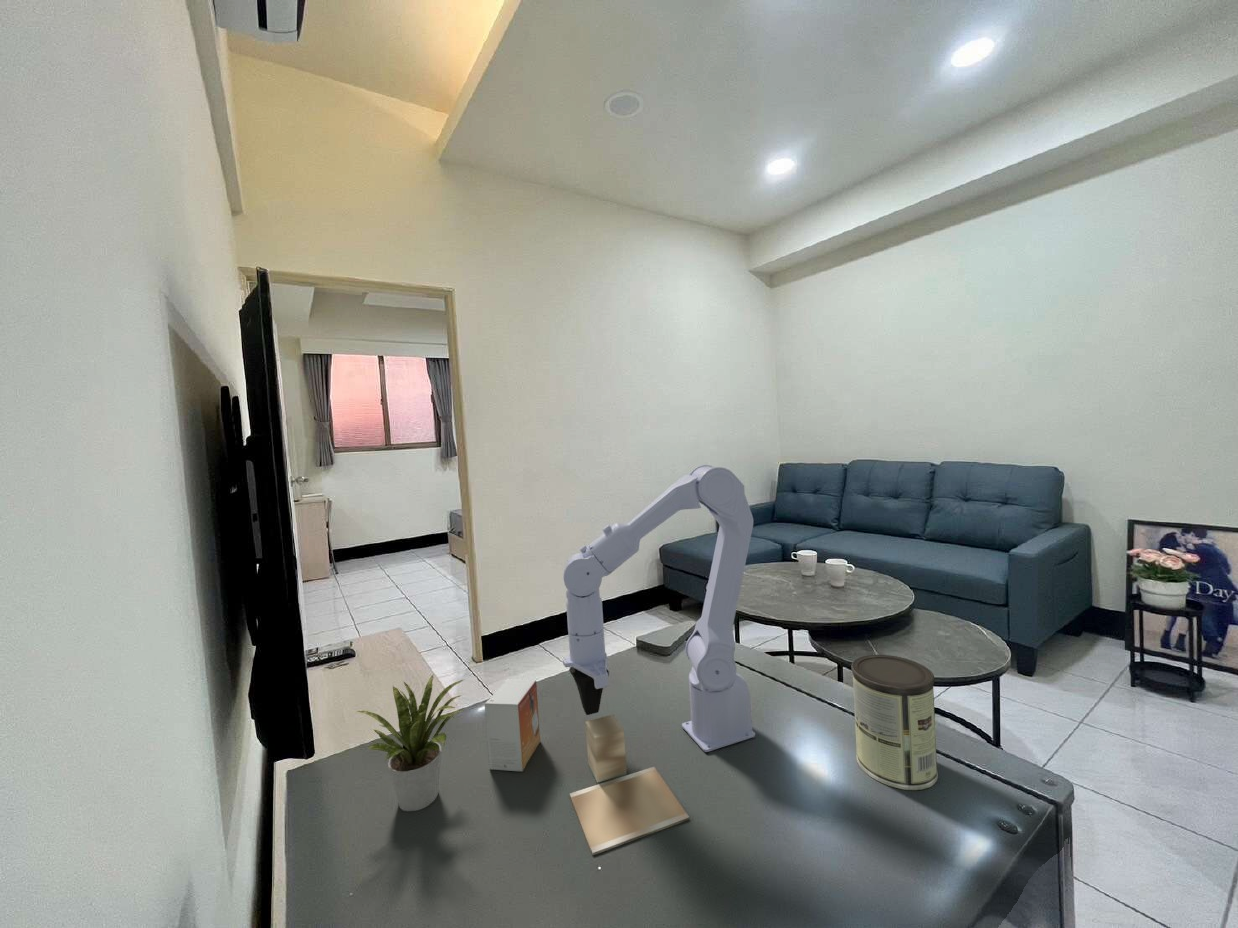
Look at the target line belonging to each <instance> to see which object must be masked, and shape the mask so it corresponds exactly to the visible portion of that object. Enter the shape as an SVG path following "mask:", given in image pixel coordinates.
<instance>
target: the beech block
mask: <svg viewBox="0 0 1238 928" xmlns="http://www.w3.org/2000/svg"><path fill="white" fill-rule="evenodd" d="M585 733H586V734H585V735H586V748H587V750H586V751H587V761H588V764H587V765H588V768H589V771H590V773H591V775H592V777H593V778H594V781H595V783H596V785H598V784H601V783H604V782H607V781H610V780H614V779H617V778H620V777H623V776H626V775H628V774H627V757H626V743H625V742H626V741H625V730H624V728H623V726H622V724H621V723H620V722H619V720H618V718H617V717H616V716H615V714H609V715H606V716H602V717H598V718H594V719H591V720H588V721H585Z"/></svg>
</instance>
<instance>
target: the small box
mask: <svg viewBox="0 0 1238 928" xmlns="http://www.w3.org/2000/svg"><path fill="white" fill-rule="evenodd" d="M537 687H538V686H537V680H535V679H517V678H516V679H515V678H513V679H512V678H507V679H505V680H504V681H503V682H502V684H501V685H500V686H499V687H498V689H496V691H495V692H494V693H493V694H492V695H491V696H490V697H489V699H487V701H485V702H484V713H485V717H484V718H485V727H486V740H487V755H488V767H489V770H495V771H509V772H511V771H512V772H523V771H524V769H525V768H526V766H527V764H528V763H529V761H530V759H531V758H532V756H533V754H534V752H535V751H536V749H537V747H538V746H539V744H540V743H541V734H540V733H541V731H540V718H539V705H538V704H539V703H538V702H539V699H538V688H537Z"/></svg>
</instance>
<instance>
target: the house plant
mask: <svg viewBox="0 0 1238 928" xmlns="http://www.w3.org/2000/svg"><path fill="white" fill-rule="evenodd" d="M433 680H434V674H432V675H431V676H430V677H429V679H428V681H427V682H426V685H425V688H424V692H423V696H422V698H421V702H420V705H418V704H417V699H416V696H415V692H414V691H413V690H412V688H411V687H410V685H409V684H407V683H406V682H405V681H403V683H404V687H405V689H406V691H407V693H408V696H409V697H407V696H406V694H405V693H404V692H403V691H402V690H400V689H398V688H397V687H395V686H394V685H392V693H393V700H394V703H395V707H396V713H397V718H398V728H399V732H398V731H397V730H396V729H395V727H394V726H393V725H392V724H391V723H390V722H389V721H388V720H387V719H385V718H384V717H382V716H381V715H379V714H377V713H375V712H371V711H368V710H367V711H366V710H356V712H357V713H361V714H365V715H367V716H370V717H372V718H374V719H375V721H377V722H379V726H380V727H382V728H386V729H387V730H388V731H389V733H390V734H392V735H393V736H394V738H396V740H398V741H399V742H400V744H399V743H398V742H397V741H395V740H394V739H393V738H392V737H390V736H388V735H387V734H385V733H384V732H382V731H380V730H377V729H373V730H374V732H375V733H376V734H377V735H378V736H379V738H380V739H381V741H383V742H378V743H374V744H372V745H370V746H368V748H366V750H368V749H369V750H374V751H380V752H386V753H387V754H386V758H385V760H384V762H387V760H388V763H387V766H388V769H389V770H388V771H389V773H390V777H391V781H392V785H393V788H394V791H395V796H396V799H397V802H398V805H399V808H400V810H402V811H404V812H414V811H420V810H422V809H425V808H427V807H428V806H429V805H431V804H433V802H434V801H435V800H436V799H437V797H438V794H439V786H440V785H439V783H440V771H441V760H442V750H443V749H442V746H441V744H442V745H443V746H445V742H446V739H447V734H446V733H443V732H442V733H441V731H442V729H443V727H445V725H446V724H447V723H448V721H449V720H450V719H451V718H454V719H455V717H454V715H455V714H457V713H458V712H459V713H460V712H461V711H462V710H463V708H461V709H458V710H455V711H453V712H451V713H450V714H442V713H443V712H444V710H445V709H455V708H456V707H455V706H452V705H449V704H451V703H452V701H454V700H456V699H458V698H460V697H461V696H462V695H456V696H454V697H452V698H450V699H449V700H447V701H446V702H445V703H444V704H443V705H442V706H440V707H439V708H438V709H437V710H436V708H437V707H438V705H439V704H440V702H441V700H442V699H443V698H444V697H445V696H446V695H447V694H448V693H449V691H450V690H451V689H452V688H453V687H454V686H456V685H457V684H460V683H462V682H463V681H465V680H466V678H465V679H461V680H458V681H455V682H453V683H451V684H449V685H448V686H447V687H446V688H444V689H443V690H442V691H441V692H440V693H439V695H437V697H436V698H435V700H434V701H433V704H432V706H431V708H430V710H429V712H428V708H429V704H430V699H431V696H432V691H433V686H434V685H433ZM435 710H436V711H435ZM427 712H428V715H427ZM437 712H438V714H437V715H436V713H437ZM435 715H436V717H435V719H434V720H433V718H434V716H435ZM432 720H433V721H432ZM441 721H442V722H441ZM440 722H441V723H440ZM439 723H440V725H439V727H438V728H437V730H436V732H435V733H434V735H433V736H432V738H431V740H429V739H430V736H431V735H432V733H433V730H434V728H436V726H437V725H438V724H439ZM440 743H441V744H440ZM401 744H402V745H401Z"/></svg>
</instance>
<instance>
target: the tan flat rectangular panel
mask: <svg viewBox="0 0 1238 928" xmlns="http://www.w3.org/2000/svg"><path fill="white" fill-rule="evenodd" d="M569 799H570V801H571V803H572V806H573V809H574V811H575V813H576V815H577V818H578V822H579V823H580V824H579V825H580V826H581V829H582V831H583V835H584V836H585V839H586V841H587V845H588V847H589V850H590V852H591V855H592V856H595V855H599V854H601V853H603V852H605V851H609V850H611V849H615V848H616V847H621V846H622V844H623V845H625V844H628V843H630V842H633V841H635V840H638V839H641V838H644V837H647V836H650V835H652V834H655V833H657V832H660V831H663V830H665V829H668V828H671V827H674V826H676V825H679V824H681V823H684V822H687V821H689V820H690V816H689V815H688V813H687V812H686V810H685V809H684V807H683V806H682V805H681V803H680V802H679V800H678V799H677V798H676V797H675V795H674V793H673V792H672V791H671V789H670V787H669V786H668V785H667V783H666V782H665V780H664V779H663V778H662V775H660V773H659V772H658V770H657V769H656V767H655V766H652V767H649V768H645V769H642V770H639V771H636V772H632V773H630V774H627V775H626V776H623V777H620V778H617V779H614V780H610V781H607V782H604V783H601V784H598V785H597V784H595V785H593V786H592V785H591V786H589V787H586V788H583V789H579V790H577V791H573V792H571V793H569ZM624 843H625V844H624Z"/></svg>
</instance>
